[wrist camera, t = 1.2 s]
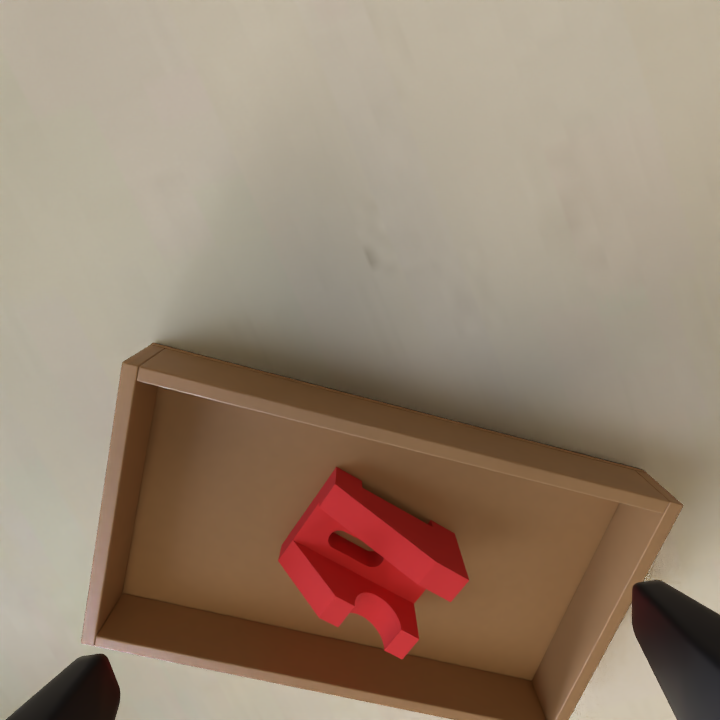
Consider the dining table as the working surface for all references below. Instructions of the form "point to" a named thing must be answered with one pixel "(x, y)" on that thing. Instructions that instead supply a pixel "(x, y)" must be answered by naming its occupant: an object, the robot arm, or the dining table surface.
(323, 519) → the bracket
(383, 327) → the dining table surface
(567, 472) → the cardboard box
